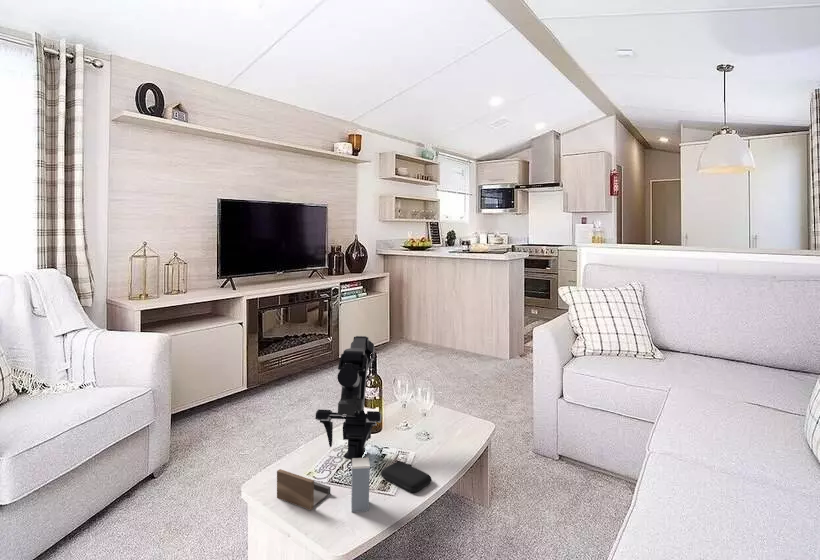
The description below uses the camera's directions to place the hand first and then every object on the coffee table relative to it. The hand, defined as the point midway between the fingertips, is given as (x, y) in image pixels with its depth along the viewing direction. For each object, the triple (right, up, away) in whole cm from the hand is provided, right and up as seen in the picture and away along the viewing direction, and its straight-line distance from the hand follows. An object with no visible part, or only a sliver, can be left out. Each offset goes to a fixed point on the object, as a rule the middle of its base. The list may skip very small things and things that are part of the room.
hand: (346, 447), depth 130 cm
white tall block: (+4, -15, -4) cm, 16 cm away
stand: (-12, -14, 0) cm, 18 cm away
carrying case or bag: (+17, -14, +10) cm, 25 cm away
